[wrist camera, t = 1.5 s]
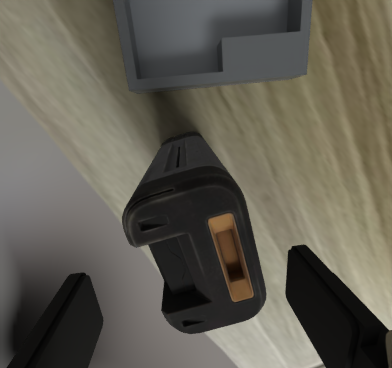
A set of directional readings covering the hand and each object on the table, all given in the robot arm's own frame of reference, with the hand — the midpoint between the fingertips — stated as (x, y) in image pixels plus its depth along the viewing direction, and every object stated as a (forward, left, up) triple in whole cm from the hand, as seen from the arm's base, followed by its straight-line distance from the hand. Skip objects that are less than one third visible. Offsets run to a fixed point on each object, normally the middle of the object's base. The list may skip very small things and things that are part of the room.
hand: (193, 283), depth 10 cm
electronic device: (0, 0, -21) cm, 21 cm away
